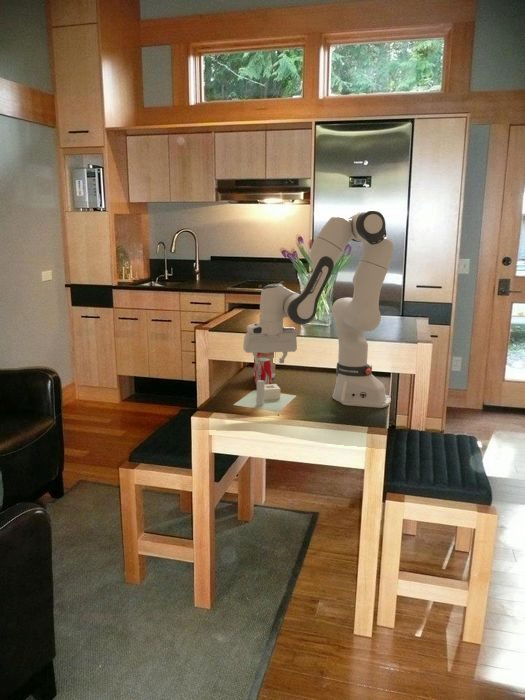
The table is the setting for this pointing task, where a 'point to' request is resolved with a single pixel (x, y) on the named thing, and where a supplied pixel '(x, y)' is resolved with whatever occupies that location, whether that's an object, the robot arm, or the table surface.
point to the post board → (258, 402)
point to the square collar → (271, 392)
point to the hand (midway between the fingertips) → (269, 363)
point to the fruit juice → (268, 355)
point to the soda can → (263, 370)
